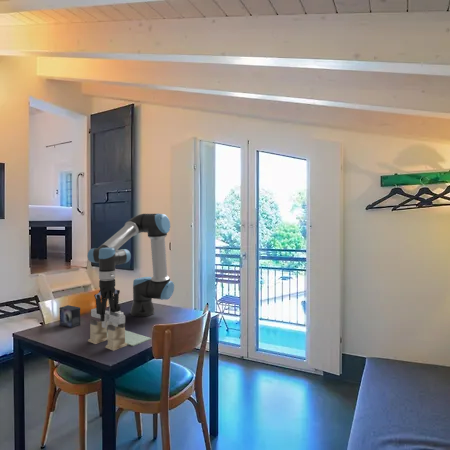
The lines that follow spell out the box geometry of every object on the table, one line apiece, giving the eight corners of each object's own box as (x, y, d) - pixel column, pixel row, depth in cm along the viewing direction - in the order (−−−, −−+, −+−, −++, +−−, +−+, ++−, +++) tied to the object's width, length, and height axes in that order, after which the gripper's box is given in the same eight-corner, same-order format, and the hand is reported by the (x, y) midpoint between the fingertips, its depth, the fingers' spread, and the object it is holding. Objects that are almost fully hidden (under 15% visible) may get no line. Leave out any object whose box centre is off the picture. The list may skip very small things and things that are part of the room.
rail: (91, 316, 179) (91, 309, 179) (97, 314, 182) (97, 307, 181) (119, 324, 166) (119, 317, 166) (125, 322, 169) (125, 315, 169)
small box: (58, 325, 201) (58, 307, 201) (68, 322, 207) (68, 304, 207) (71, 328, 196) (71, 309, 196) (80, 325, 202) (80, 307, 202)
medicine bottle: (123, 324, 204) (123, 303, 204) (116, 328, 197) (116, 306, 197) (113, 323, 206) (113, 302, 206) (105, 326, 199) (105, 305, 199)
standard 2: (119, 342, 175) (119, 321, 175) (127, 345, 172) (127, 323, 171) (105, 347, 168) (105, 325, 168) (113, 350, 165) (113, 327, 165)
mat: (118, 329, 195) (118, 328, 195) (151, 339, 180) (151, 338, 180) (99, 335, 186) (99, 334, 185) (132, 346, 171) (132, 345, 171)
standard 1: (101, 337, 183) (101, 316, 183) (109, 339, 180) (109, 318, 179) (88, 341, 176) (88, 319, 176) (95, 344, 173) (95, 322, 173)
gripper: (97, 283, 164) (97, 332, 165) (125, 277, 178) (126, 323, 179) (87, 281, 168) (88, 329, 169) (116, 275, 182) (116, 320, 183)
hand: (107, 326), depth 174 cm, fingers closed on rail, 3 cm apart
